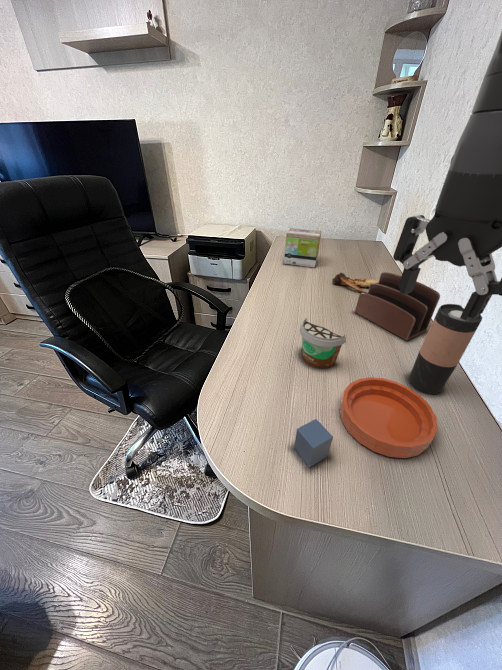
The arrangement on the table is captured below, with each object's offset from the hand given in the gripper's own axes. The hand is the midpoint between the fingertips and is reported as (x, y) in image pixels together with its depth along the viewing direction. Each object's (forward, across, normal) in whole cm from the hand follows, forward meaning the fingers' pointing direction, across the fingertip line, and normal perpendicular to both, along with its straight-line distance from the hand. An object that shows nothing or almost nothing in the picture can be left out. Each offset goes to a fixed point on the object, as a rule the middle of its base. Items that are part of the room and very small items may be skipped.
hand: (433, 304), depth 38 cm
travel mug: (+30, +4, -22) cm, 38 cm away
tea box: (+30, +84, -49) cm, 101 cm away
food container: (+30, +24, -4) cm, 39 cm away
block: (+30, +4, +14) cm, 33 cm away
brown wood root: (+30, +51, -50) cm, 77 cm away
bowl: (+30, +2, -4) cm, 30 cm away
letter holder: (+30, +27, -39) cm, 56 cm away
